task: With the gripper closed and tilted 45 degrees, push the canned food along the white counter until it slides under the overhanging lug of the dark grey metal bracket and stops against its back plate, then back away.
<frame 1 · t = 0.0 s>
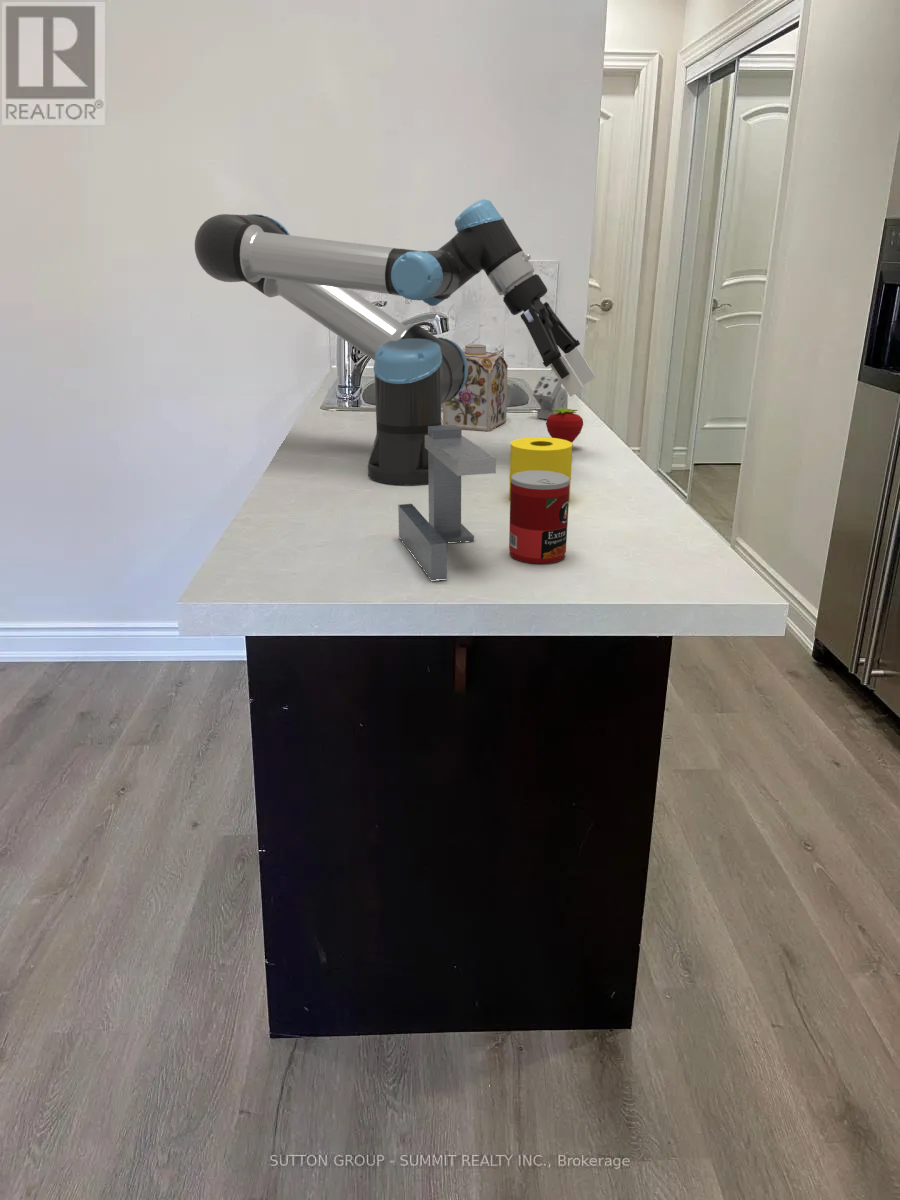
hand: (583, 386, 164), 15 cm above the table, tool tilted 35°, fingers open, 13 cm apart
mechanical component: (549, 420, 215), on the table
white patterned box: (475, 426, 208), on the table
yellow toilet paper roll: (539, 501, 150), on the table
bracket: (466, 561, 122), on the table
strawberry: (563, 450, 185), on the table
canned food: (537, 556, 125), on the table
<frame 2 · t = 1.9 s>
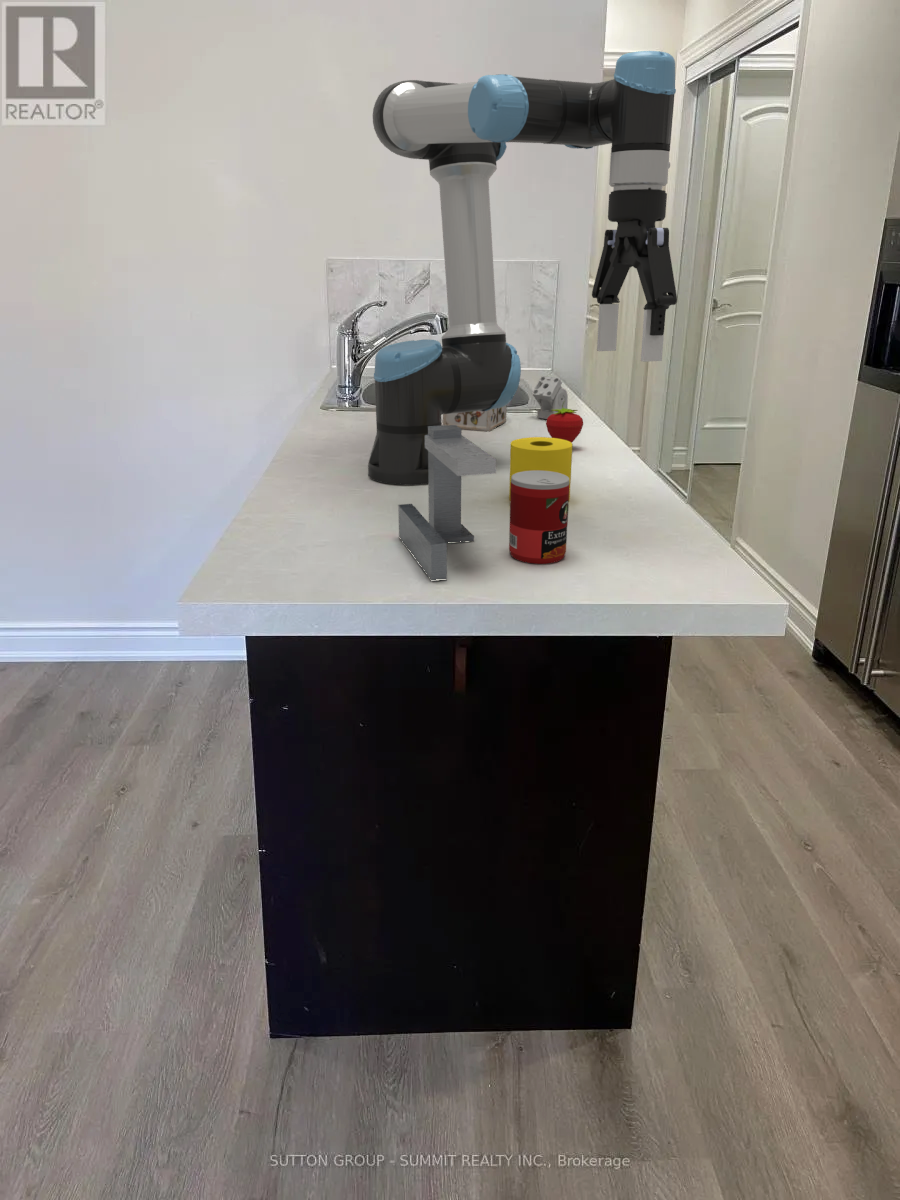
hand: (627, 355, 127), 25 cm above the table, tool pointing down, fingers open, 13 cm apart
nothing on the table moved.
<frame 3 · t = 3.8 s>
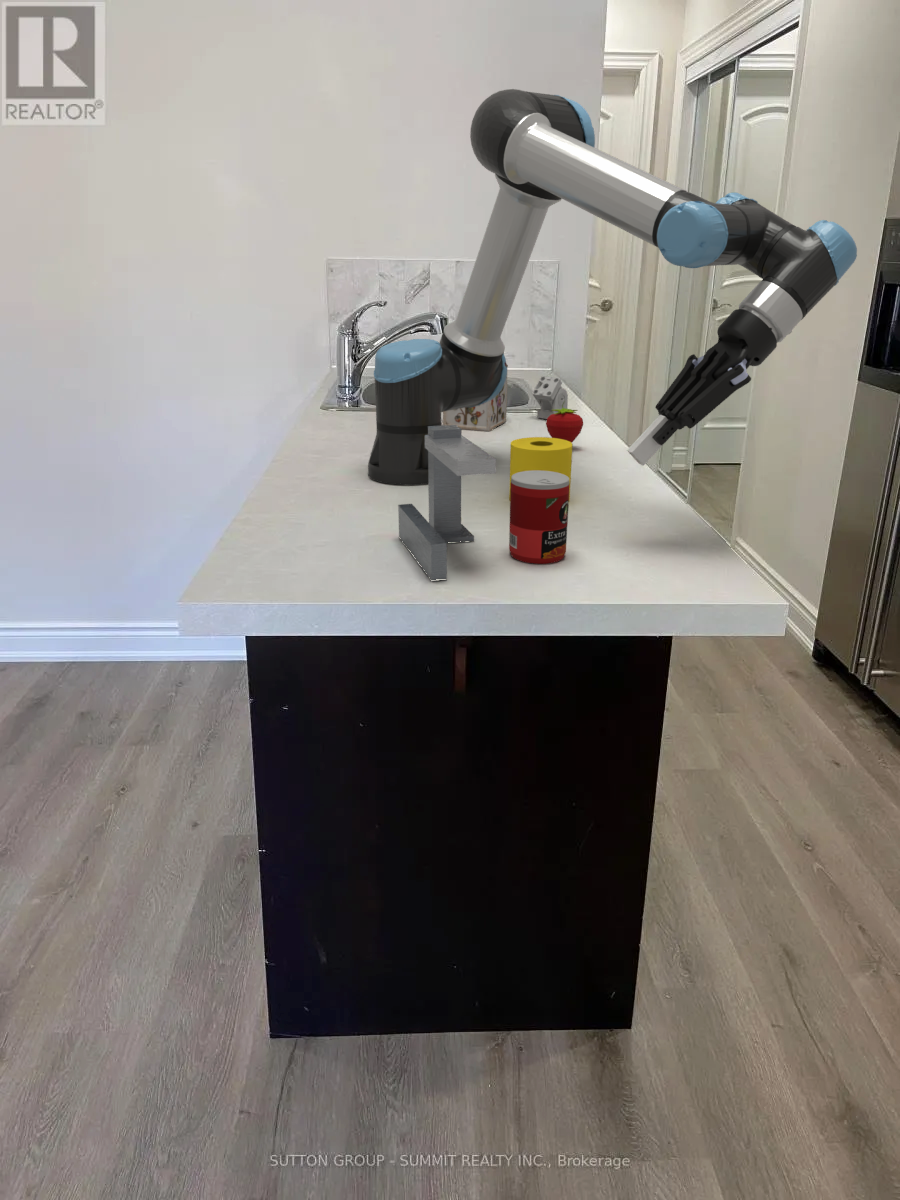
hand: (635, 457, 123), 13 cm above the table, tool tilted 45°, fingers closed
nothing on the table moved.
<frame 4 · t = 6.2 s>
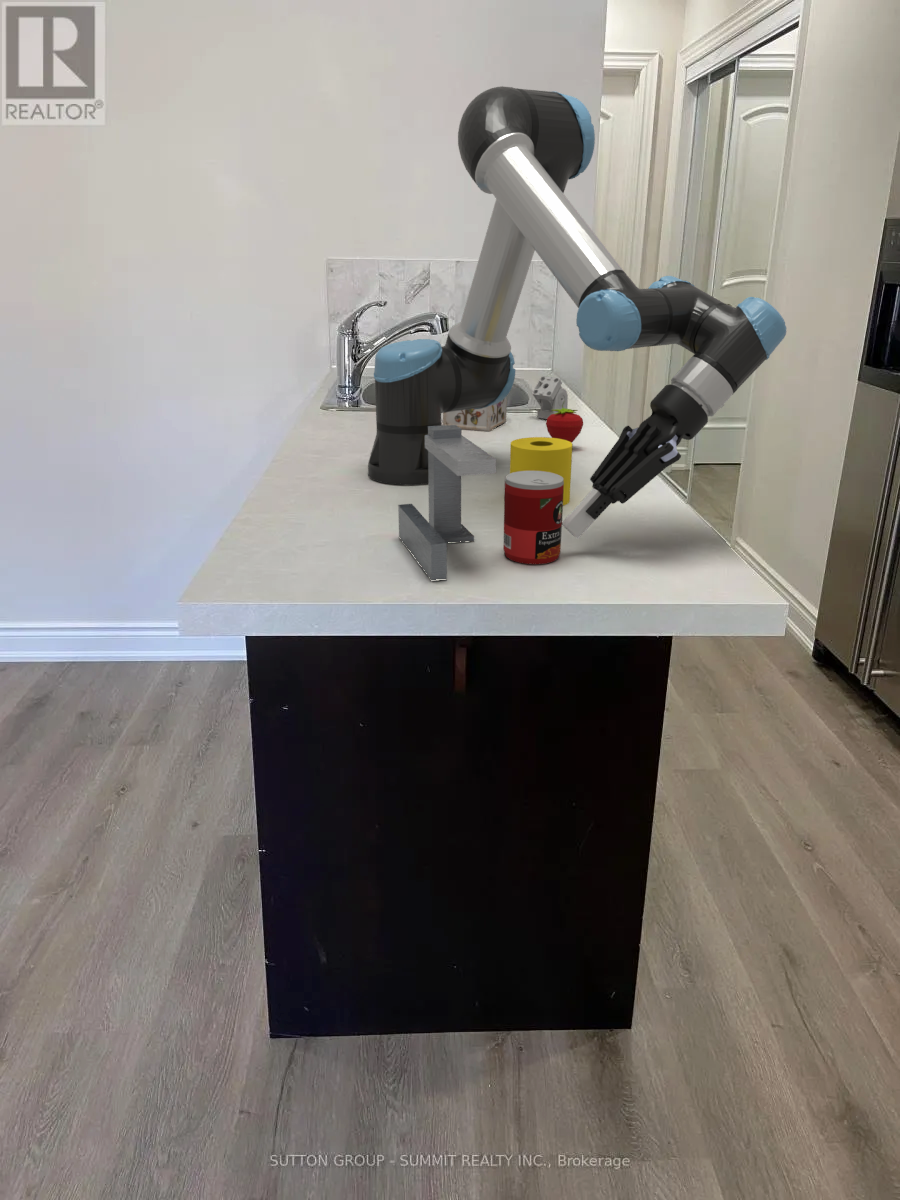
hand: (569, 531, 124), 3 cm above the table, tool tilted 45°, fingers closed
canned food: (531, 557, 124), on the table, touching gripper
everything else where it was.
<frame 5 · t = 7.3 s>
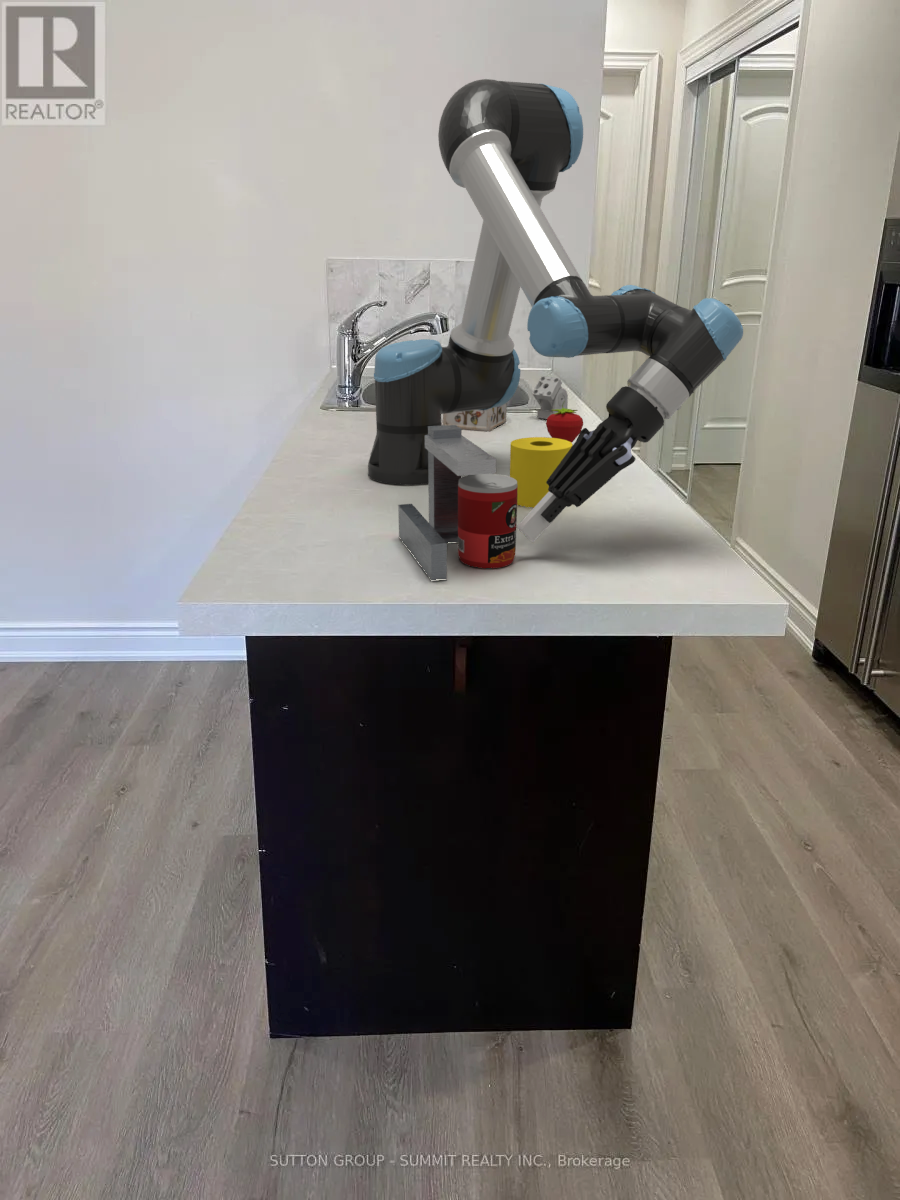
hand: (524, 534, 122), 3 cm above the table, tool tilted 45°, fingers closed
canned food: (486, 561, 123), on the table, touching gripper
everything else where it was.
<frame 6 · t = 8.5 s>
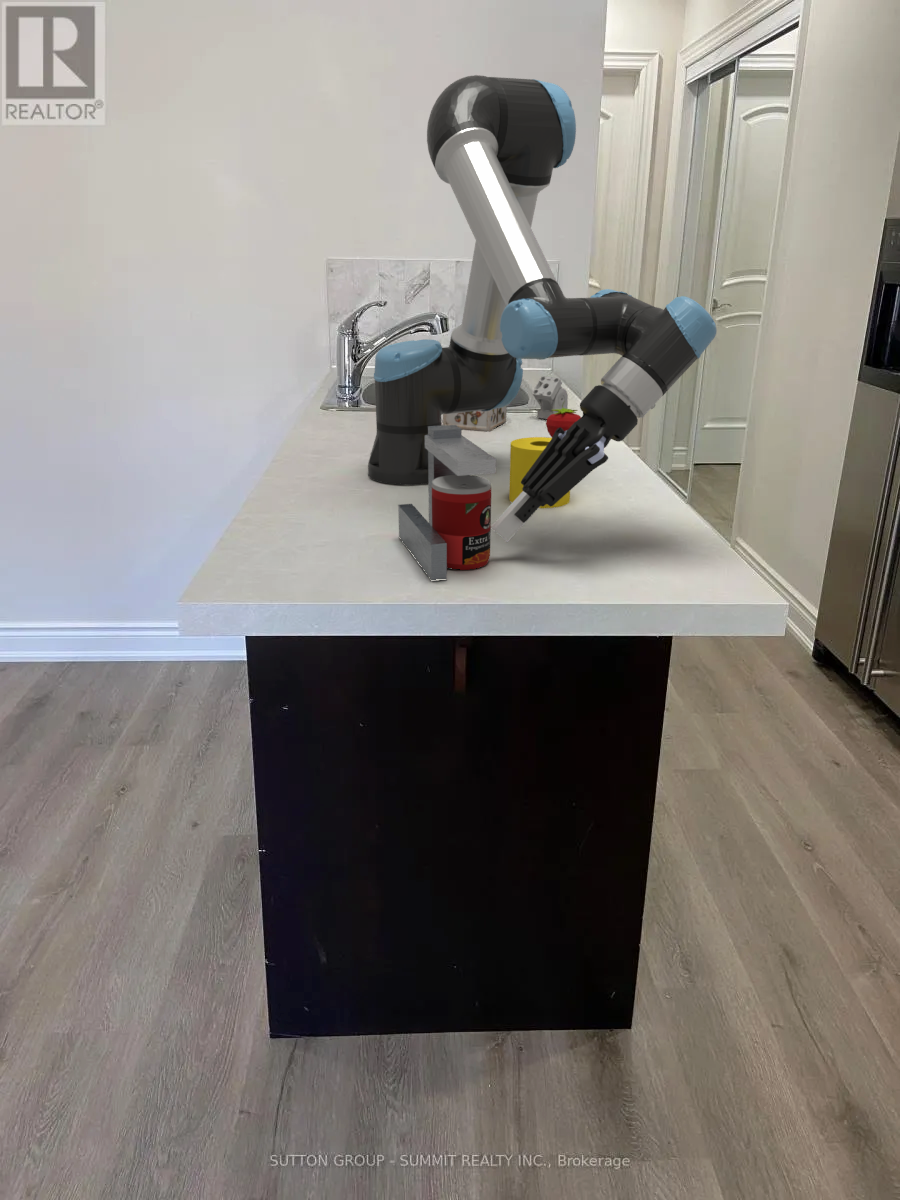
hand: (498, 534, 122), 4 cm above the table, tool tilted 45°, fingers closed
canned food: (461, 562, 122), on the table, touching bracket, gripper
everything else where it was.
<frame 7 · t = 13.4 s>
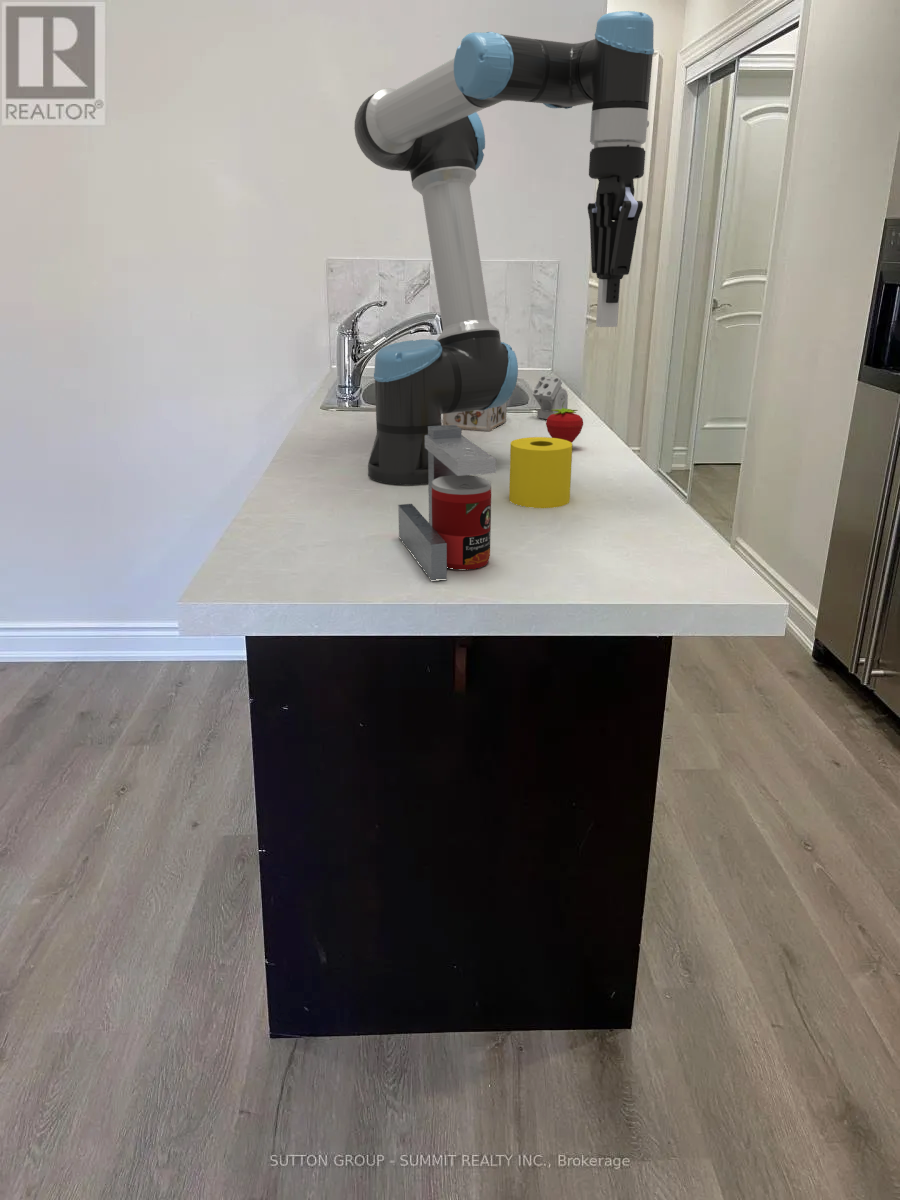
hand: (606, 326, 132), 28 cm above the table, tool pointing down, fingers closed
canned food: (461, 562, 122), on the table
everything else where it was.
at the end: canned food 0.8 cm off-centre on the bracket, point 0.0 cm above the bracket's base; canned food tilted 0°; the gripper is holding nothing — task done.
